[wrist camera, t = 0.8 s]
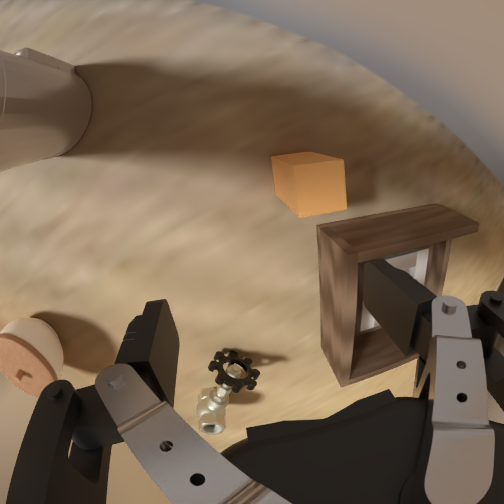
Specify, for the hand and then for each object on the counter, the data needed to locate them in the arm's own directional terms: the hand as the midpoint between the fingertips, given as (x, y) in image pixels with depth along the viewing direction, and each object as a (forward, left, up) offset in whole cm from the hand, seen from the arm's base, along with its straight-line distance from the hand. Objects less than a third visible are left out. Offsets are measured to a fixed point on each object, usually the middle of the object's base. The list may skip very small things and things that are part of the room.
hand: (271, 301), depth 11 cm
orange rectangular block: (-1, +6, -19) cm, 20 cm away
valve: (+25, -7, -19) cm, 32 cm away
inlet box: (+14, +17, -19) cm, 29 cm away
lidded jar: (+13, -31, -19) cm, 38 cm away
